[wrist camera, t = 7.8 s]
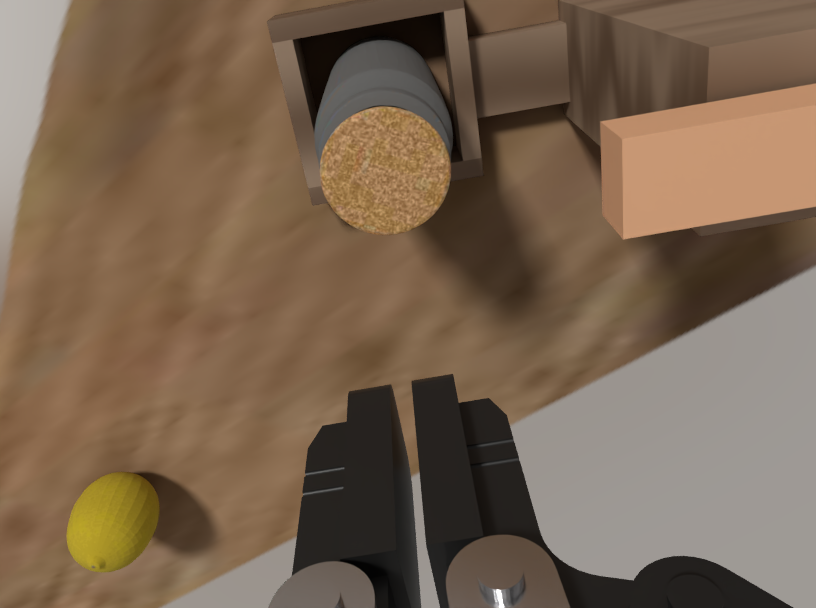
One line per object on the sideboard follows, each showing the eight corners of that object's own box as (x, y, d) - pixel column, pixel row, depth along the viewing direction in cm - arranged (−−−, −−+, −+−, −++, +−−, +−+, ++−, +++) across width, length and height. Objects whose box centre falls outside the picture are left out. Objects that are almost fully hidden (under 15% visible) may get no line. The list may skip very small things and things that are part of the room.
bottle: (393, 163, 39) (404, 277, 26) (307, 104, 37) (271, 193, 24) (455, 79, 37) (501, 155, 24) (367, 11, 35) (364, 53, 22)
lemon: (99, 441, 48) (52, 527, 41) (178, 459, 49) (145, 546, 42) (89, 496, 50) (42, 587, 43) (164, 512, 51) (131, 603, 44)
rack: (274, 15, 35) (194, 76, 19) (673, -59, 34) (932, -59, 18) (316, 188, 39) (279, 352, 24) (668, 125, 39) (873, 253, 23)
